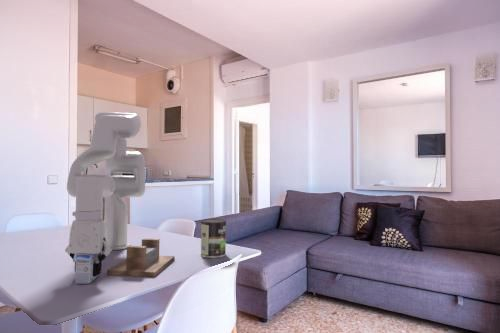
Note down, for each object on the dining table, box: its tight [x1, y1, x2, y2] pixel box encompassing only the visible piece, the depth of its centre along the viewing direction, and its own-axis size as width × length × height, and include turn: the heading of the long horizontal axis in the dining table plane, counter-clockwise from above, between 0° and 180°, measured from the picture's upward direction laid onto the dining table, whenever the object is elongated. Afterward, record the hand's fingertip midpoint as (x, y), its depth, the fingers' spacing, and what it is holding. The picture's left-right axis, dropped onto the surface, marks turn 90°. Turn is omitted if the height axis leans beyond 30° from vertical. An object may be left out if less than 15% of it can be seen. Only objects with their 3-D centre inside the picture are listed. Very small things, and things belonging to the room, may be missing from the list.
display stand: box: [106, 238, 176, 278], centre depth 115 cm, size 16×20×8 cm
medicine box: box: [74, 254, 101, 285], centre depth 100 cm, size 8×4×9 cm, turn 5°
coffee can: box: [200, 218, 227, 259], centre depth 133 cm, size 10×10×14 cm
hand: (88, 273), depth 100 cm, fingers closed on medicine box, 5 cm apart
